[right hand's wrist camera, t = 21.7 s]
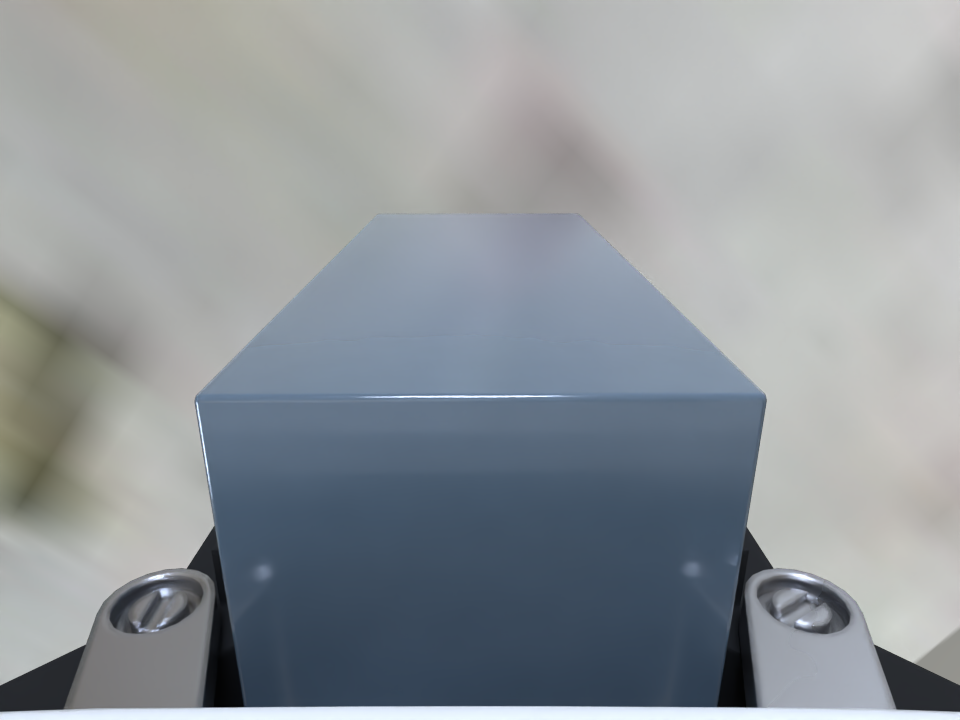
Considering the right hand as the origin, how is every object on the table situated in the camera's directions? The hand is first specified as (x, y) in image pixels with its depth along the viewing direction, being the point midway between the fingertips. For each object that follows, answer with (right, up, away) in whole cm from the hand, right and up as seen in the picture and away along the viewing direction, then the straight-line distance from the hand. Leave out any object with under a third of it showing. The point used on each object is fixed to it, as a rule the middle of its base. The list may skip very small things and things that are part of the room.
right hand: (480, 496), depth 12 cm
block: (0, +2, +6) cm, 6 cm away
